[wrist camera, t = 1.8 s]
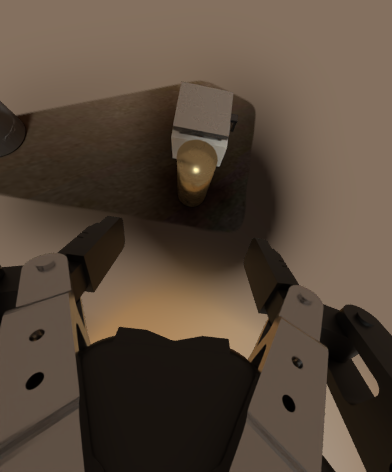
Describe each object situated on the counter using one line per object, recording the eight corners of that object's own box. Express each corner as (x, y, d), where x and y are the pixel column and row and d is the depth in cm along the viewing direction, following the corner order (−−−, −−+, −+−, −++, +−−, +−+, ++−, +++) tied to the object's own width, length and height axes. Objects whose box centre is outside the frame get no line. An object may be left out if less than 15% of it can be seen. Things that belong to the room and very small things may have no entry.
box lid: (173, 146, 28) (172, 125, 24) (181, 107, 30) (181, 81, 26) (228, 156, 29) (236, 137, 25) (232, 117, 31) (240, 94, 27)
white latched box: (172, 158, 31) (171, 137, 26) (179, 118, 33) (179, 92, 28) (220, 166, 31) (228, 147, 27) (225, 127, 33) (233, 103, 28)
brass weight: (175, 204, 29) (173, 172, 19) (179, 178, 30) (180, 136, 20) (203, 208, 29) (215, 179, 20) (206, 183, 30) (219, 143, 21)
